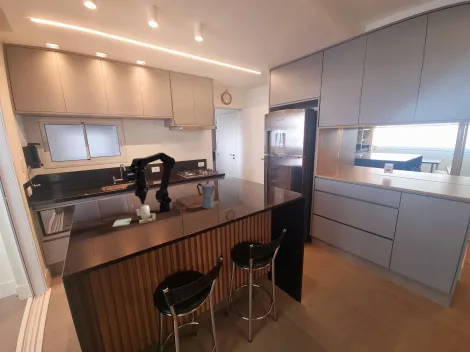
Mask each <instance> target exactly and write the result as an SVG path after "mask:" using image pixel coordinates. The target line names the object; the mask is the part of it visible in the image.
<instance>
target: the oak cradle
mask: <svg viewBox="0 0 470 352" xmlns="http://www.w3.org/2000/svg"><path fill="white" fill-rule="evenodd" d="M140 218H141V219H139V222H138V224H144V223H145V224H147V223H152V222H155V221H156V212H153V213H151V212H150V218H151V219H145V220H142V216H141V215H140Z"/></svg>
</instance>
